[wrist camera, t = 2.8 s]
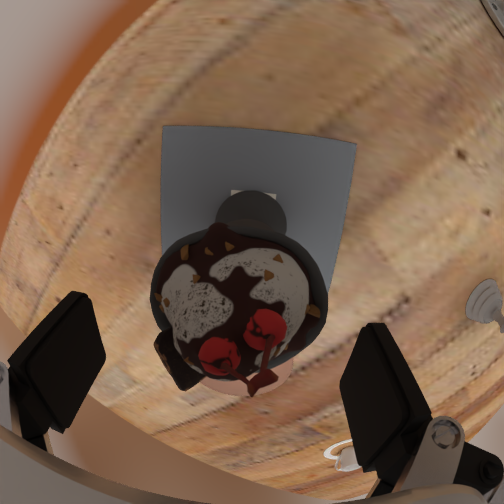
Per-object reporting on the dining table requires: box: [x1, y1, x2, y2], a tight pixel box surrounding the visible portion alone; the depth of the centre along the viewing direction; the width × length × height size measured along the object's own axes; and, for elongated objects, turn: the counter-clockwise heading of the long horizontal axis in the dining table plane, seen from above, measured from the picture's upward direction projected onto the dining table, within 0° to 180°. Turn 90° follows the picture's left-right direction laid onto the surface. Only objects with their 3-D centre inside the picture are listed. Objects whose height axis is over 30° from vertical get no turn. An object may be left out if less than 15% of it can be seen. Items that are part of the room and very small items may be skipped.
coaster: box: [200, 357, 293, 396], centre depth 24 cm, size 10×10×1 cm
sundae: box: [150, 191, 328, 397], centre depth 12 cm, size 7×7×15 cm
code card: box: [161, 126, 357, 293], centre depth 19 cm, size 13×13×1 cm
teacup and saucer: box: [324, 439, 361, 471], centre depth 31 cm, size 9×8×4 cm
